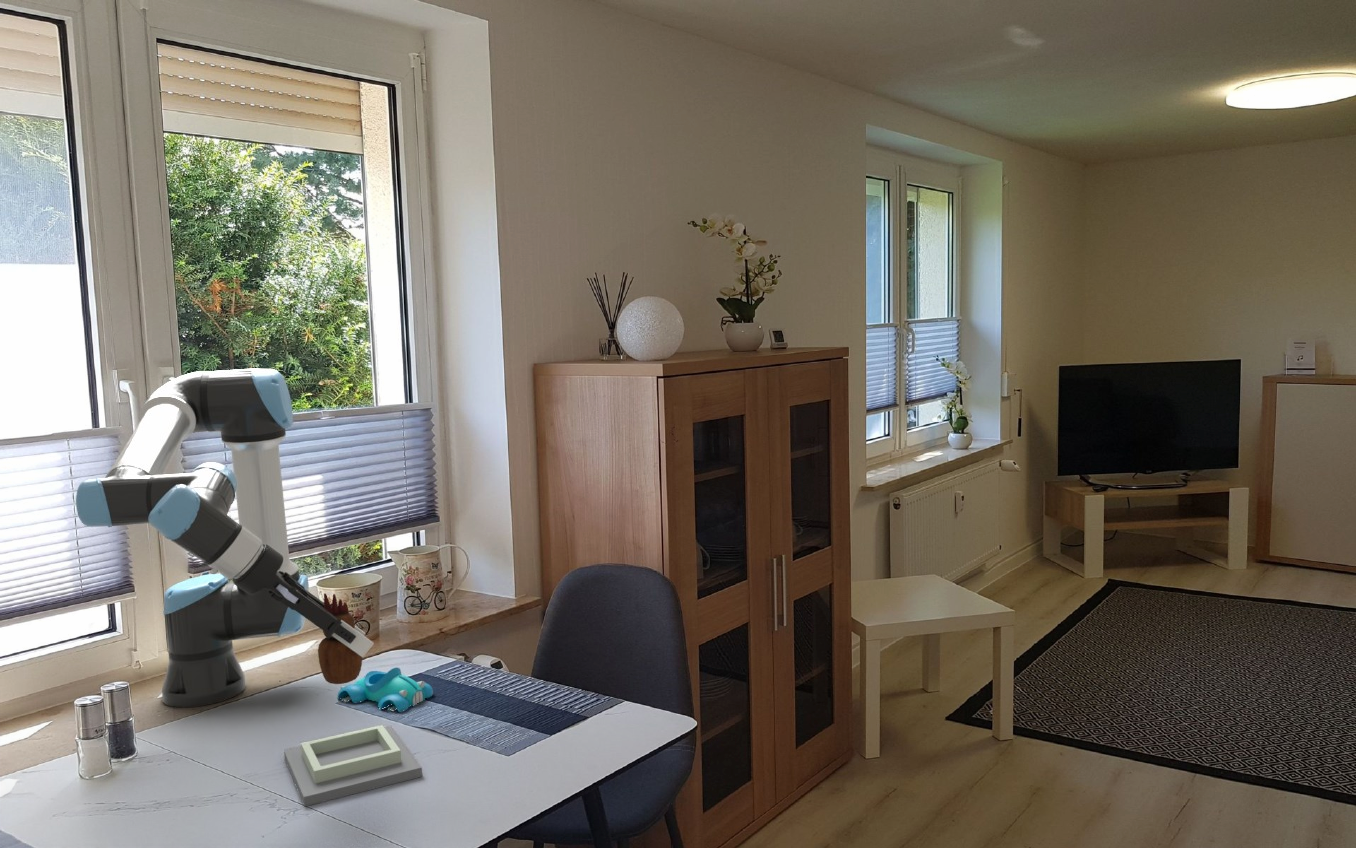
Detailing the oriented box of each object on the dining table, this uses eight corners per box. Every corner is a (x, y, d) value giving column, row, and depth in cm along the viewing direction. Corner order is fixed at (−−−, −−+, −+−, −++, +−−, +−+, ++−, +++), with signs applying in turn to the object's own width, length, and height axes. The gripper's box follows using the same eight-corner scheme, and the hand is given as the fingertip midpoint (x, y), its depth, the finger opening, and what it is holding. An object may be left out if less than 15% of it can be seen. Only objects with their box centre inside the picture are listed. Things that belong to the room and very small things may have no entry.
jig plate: (284, 758, 170) (282, 738, 170) (391, 733, 179) (390, 714, 179) (304, 806, 153) (302, 784, 153) (422, 776, 162) (421, 755, 161)
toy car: (400, 716, 188) (397, 681, 187) (330, 702, 196) (327, 669, 196) (439, 696, 197) (436, 663, 197) (370, 683, 206) (368, 651, 205)
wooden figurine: (321, 690, 160) (314, 598, 159) (319, 678, 166) (312, 589, 164) (366, 683, 163) (359, 592, 161) (362, 671, 168) (355, 584, 167)
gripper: (224, 569, 163) (337, 648, 172) (236, 595, 147) (360, 680, 156) (257, 532, 165) (366, 612, 174) (272, 554, 149) (392, 641, 158)
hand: (363, 644), depth 165 cm, fingers closed on wooden figurine, 5 cm apart
